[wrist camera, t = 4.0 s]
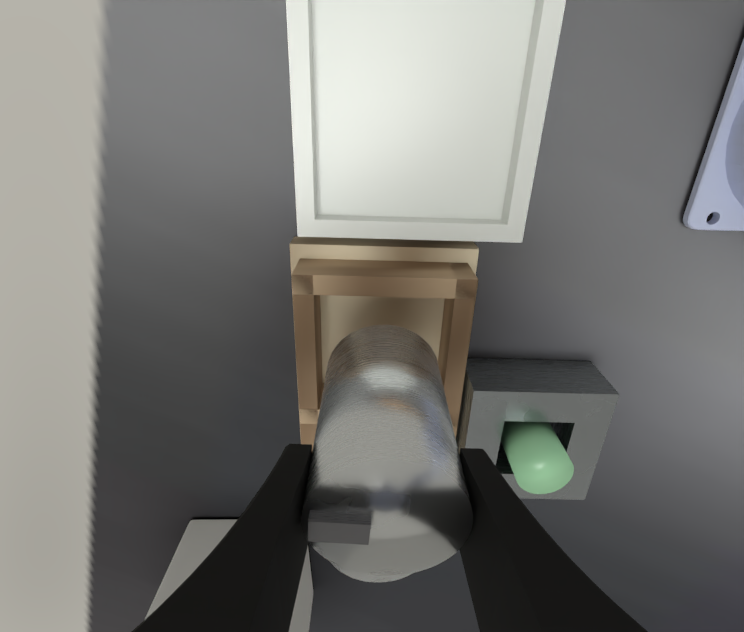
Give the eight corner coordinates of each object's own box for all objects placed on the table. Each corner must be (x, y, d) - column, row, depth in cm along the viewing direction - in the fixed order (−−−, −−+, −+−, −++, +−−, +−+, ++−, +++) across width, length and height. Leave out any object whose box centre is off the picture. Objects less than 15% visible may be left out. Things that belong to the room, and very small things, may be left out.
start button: (552, 408, 21) (580, 452, 18) (542, 447, 22) (566, 494, 19) (501, 407, 21) (521, 450, 18) (494, 446, 22) (511, 493, 19)
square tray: (554, -26, 15) (573, -41, 13) (511, 233, 18) (521, 242, 17) (291, -35, 14) (283, -50, 13) (303, 227, 18) (297, 236, 17)
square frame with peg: (590, 361, 21) (619, 394, 19) (562, 459, 24) (584, 499, 21) (461, 357, 21) (473, 391, 18) (448, 456, 24) (457, 496, 21)
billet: (447, 329, 14) (492, 480, 9) (430, 419, 16) (458, 591, 11) (329, 320, 14) (299, 467, 9) (325, 412, 16) (298, 582, 10)
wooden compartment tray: (473, 241, 19) (491, 264, 16) (441, 483, 25) (450, 532, 22) (294, 236, 18) (279, 258, 16) (307, 480, 25) (298, 528, 22)
